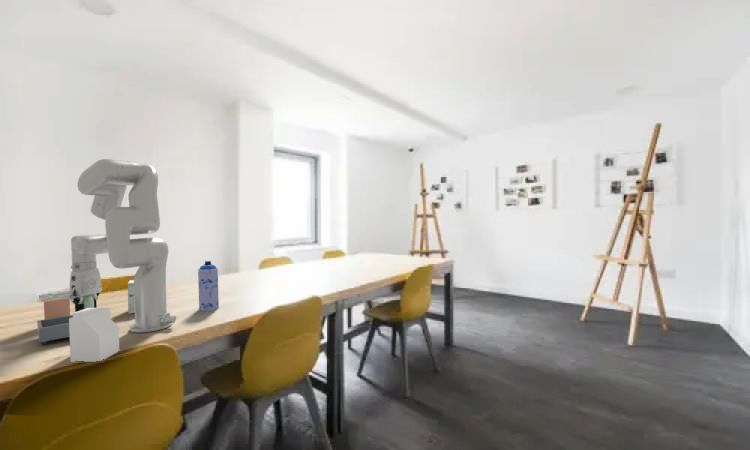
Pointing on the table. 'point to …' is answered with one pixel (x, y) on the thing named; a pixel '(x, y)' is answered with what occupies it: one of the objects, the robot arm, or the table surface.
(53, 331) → the grey desk organizer
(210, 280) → the aerosol can
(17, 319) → the table surface
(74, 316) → the white angular block
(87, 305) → the part
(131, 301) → the supplement box
